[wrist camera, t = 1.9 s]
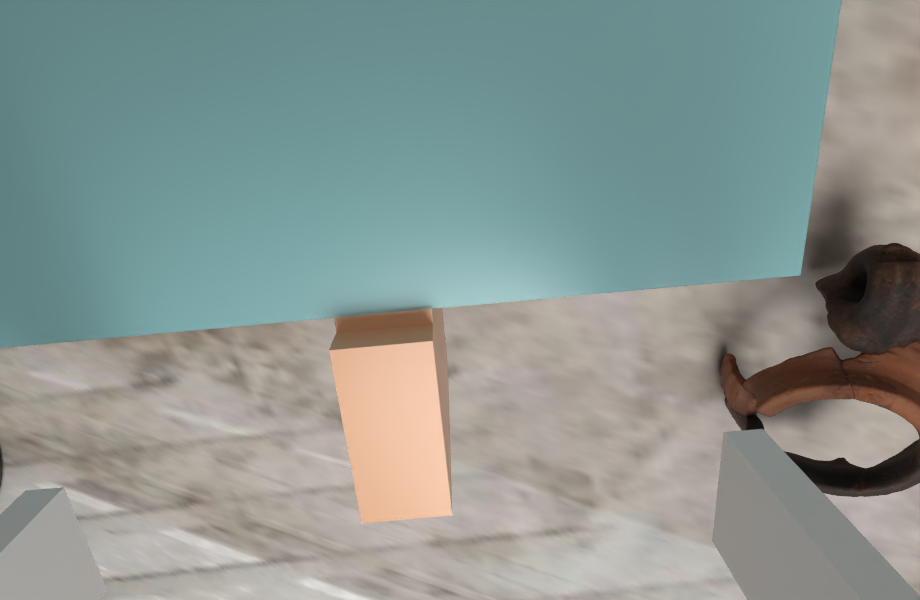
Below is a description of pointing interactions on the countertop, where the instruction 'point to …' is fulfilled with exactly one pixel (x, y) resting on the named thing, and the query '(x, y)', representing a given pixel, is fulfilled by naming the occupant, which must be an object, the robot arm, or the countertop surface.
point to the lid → (394, 175)
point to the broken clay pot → (851, 367)
